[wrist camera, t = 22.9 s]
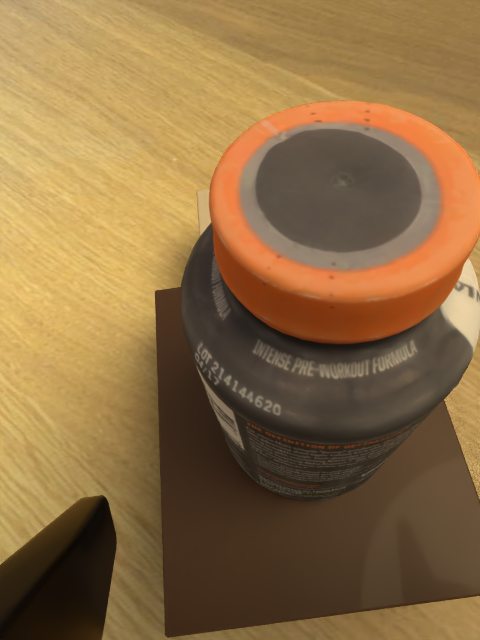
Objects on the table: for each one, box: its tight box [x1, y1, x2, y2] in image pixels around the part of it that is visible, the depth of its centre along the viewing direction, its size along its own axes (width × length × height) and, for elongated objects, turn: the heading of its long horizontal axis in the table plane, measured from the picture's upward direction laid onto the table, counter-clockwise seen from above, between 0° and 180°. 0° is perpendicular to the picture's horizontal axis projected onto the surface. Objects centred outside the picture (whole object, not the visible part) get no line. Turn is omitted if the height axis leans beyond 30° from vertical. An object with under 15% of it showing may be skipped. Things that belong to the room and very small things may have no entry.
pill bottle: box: [180, 101, 480, 501], centre depth 11 cm, size 6×6×11 cm
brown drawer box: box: [155, 287, 480, 638], centre depth 19 cm, size 12×10×5 cm
